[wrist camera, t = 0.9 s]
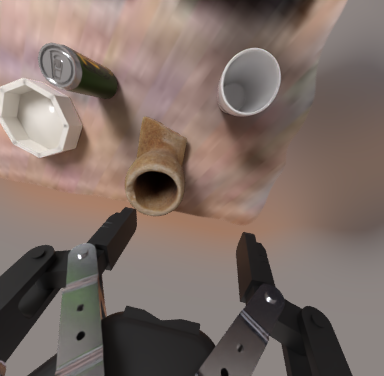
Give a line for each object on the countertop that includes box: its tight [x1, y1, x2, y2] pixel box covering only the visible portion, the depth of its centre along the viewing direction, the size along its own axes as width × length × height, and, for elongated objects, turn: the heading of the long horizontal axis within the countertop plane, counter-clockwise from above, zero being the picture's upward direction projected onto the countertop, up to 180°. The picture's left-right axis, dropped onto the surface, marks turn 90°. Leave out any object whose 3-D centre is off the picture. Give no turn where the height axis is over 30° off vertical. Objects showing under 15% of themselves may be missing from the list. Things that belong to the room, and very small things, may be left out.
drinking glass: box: [218, 48, 281, 117], centre depth 26 cm, size 7×7×15 cm
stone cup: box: [125, 117, 187, 216], centre depth 31 cm, size 15×12×15 cm
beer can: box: [38, 43, 117, 99], centre depth 28 cm, size 5×5×12 cm
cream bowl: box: [0, 78, 83, 158], centre depth 35 cm, size 13×13×4 cm
